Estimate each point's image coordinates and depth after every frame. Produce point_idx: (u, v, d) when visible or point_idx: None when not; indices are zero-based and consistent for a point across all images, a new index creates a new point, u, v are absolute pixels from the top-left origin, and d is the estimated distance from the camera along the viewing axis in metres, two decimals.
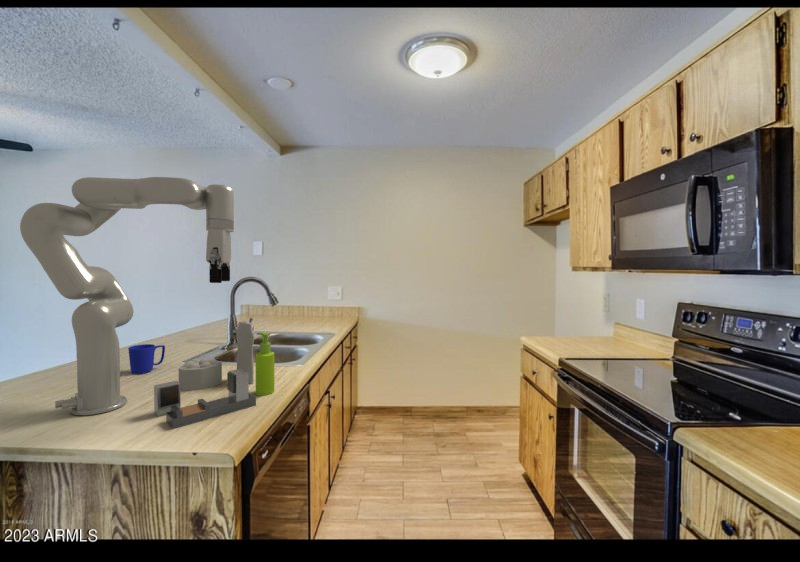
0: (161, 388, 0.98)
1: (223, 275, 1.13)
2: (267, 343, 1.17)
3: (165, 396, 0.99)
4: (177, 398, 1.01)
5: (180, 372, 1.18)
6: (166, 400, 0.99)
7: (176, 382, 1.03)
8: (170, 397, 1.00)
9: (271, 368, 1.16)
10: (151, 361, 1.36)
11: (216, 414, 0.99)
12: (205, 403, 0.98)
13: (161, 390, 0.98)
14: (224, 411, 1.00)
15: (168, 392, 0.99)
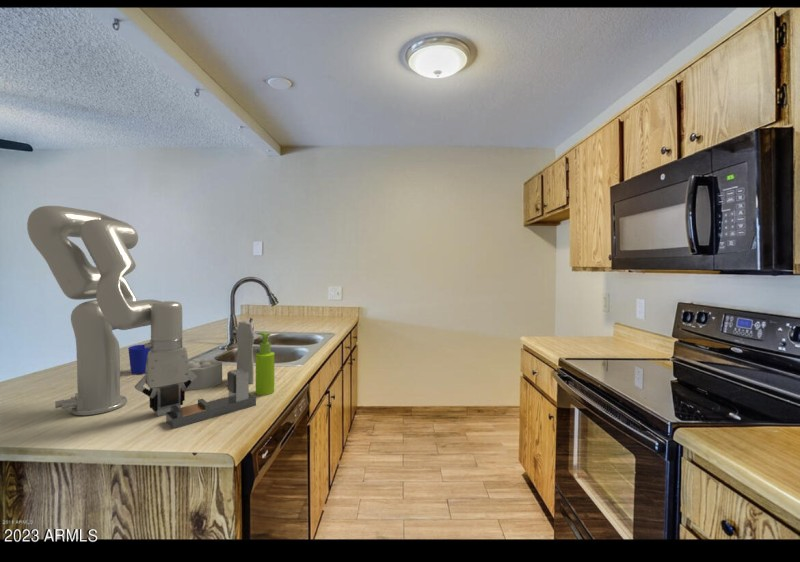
0: (161, 388, 0.98)
1: None
2: (267, 343, 1.17)
3: (165, 396, 0.99)
4: (177, 398, 1.01)
5: None
6: (166, 400, 0.99)
7: None
8: (170, 397, 1.00)
9: (271, 368, 1.16)
10: None
11: (216, 414, 0.99)
12: (205, 403, 0.98)
13: (161, 390, 0.98)
14: (224, 411, 1.00)
15: (168, 392, 0.99)
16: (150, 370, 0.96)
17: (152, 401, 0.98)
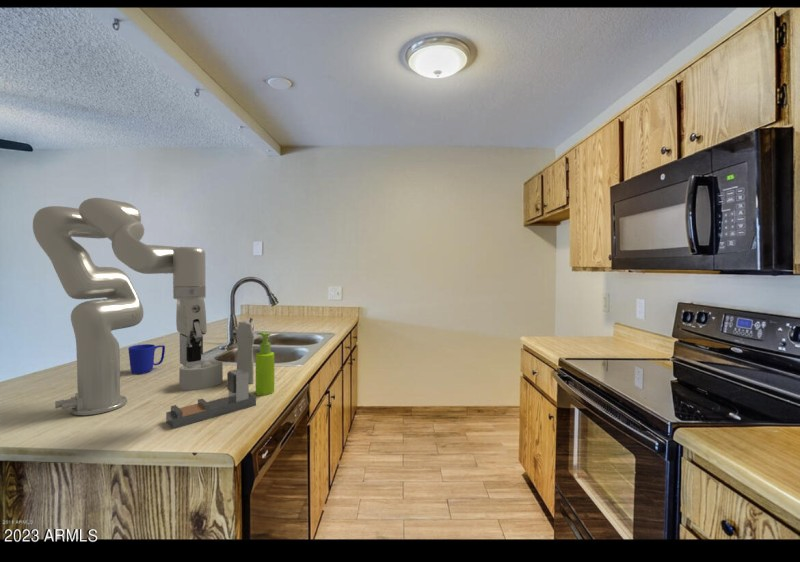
0: None
1: None
2: (267, 343, 1.17)
3: None
4: None
5: (181, 372, 1.18)
6: None
7: None
8: None
9: (271, 368, 1.16)
10: (151, 361, 1.36)
11: (216, 414, 0.99)
12: (205, 403, 0.98)
13: (202, 336, 0.96)
14: (224, 411, 1.00)
15: None
16: (205, 315, 0.94)
17: None
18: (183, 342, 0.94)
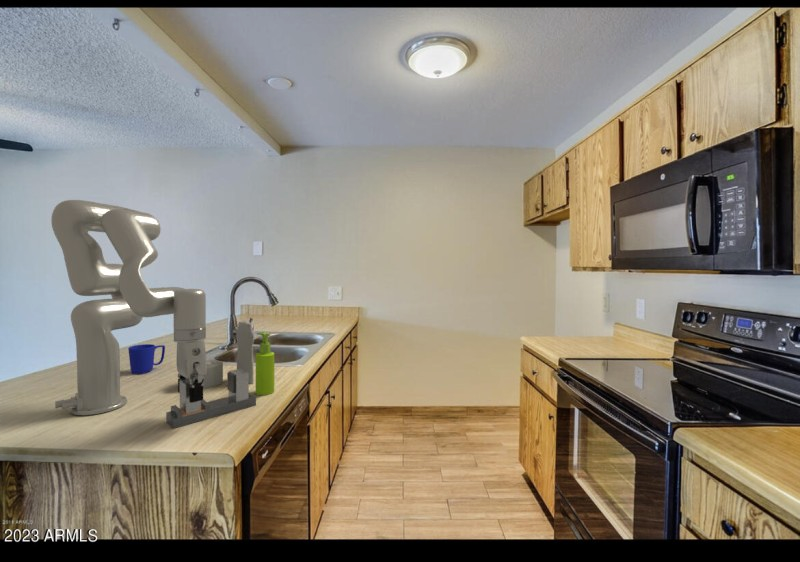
0: None
1: None
2: (267, 343, 1.17)
3: None
4: None
5: None
6: None
7: None
8: None
9: (271, 368, 1.16)
10: (151, 361, 1.36)
11: (216, 414, 0.99)
12: (205, 403, 0.98)
13: None
14: (224, 411, 1.00)
15: None
16: (205, 357, 0.95)
17: None
18: (183, 389, 0.95)
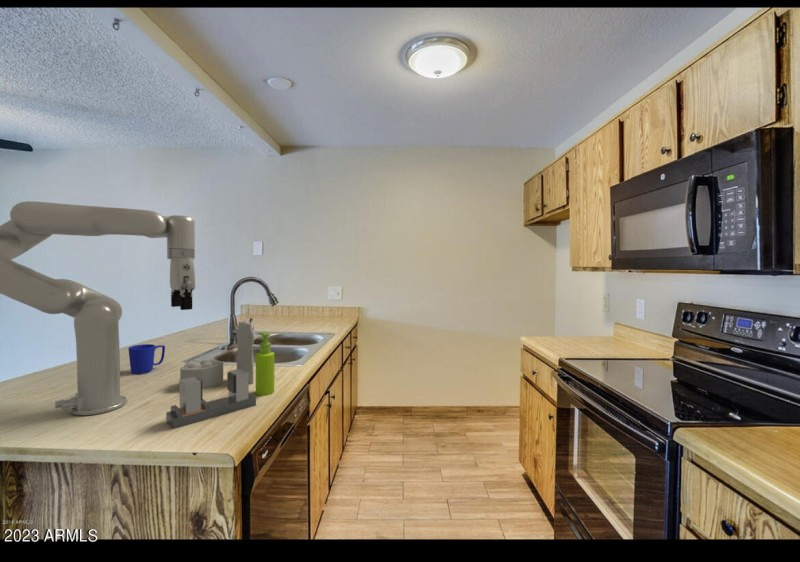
0: (200, 381, 0.96)
1: None
2: (267, 343, 1.17)
3: None
4: None
5: (182, 372, 1.18)
6: None
7: (187, 378, 0.98)
8: None
9: (271, 368, 1.16)
10: (151, 361, 1.36)
11: (216, 414, 0.99)
12: (205, 403, 0.98)
13: None
14: (224, 411, 1.00)
15: None
16: (194, 273, 1.11)
17: (189, 300, 1.10)
18: (183, 389, 0.95)
